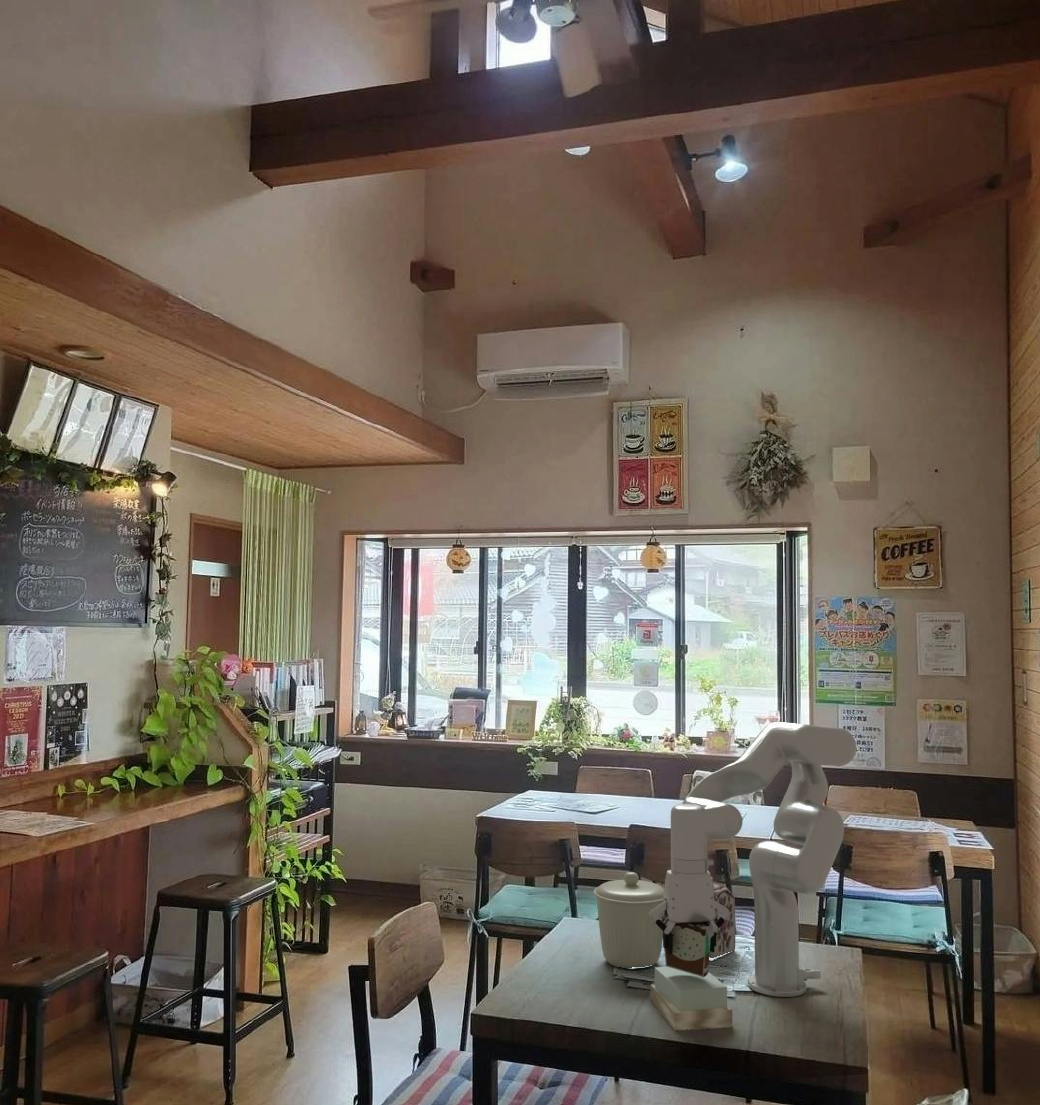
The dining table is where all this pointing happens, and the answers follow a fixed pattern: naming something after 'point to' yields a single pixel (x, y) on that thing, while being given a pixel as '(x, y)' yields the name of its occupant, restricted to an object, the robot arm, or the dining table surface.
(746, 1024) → the dining table surface
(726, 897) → the decorative jar
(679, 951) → the food container
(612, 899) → the canister
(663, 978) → the upper slab
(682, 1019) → the lower slab
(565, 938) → the dining table surface
